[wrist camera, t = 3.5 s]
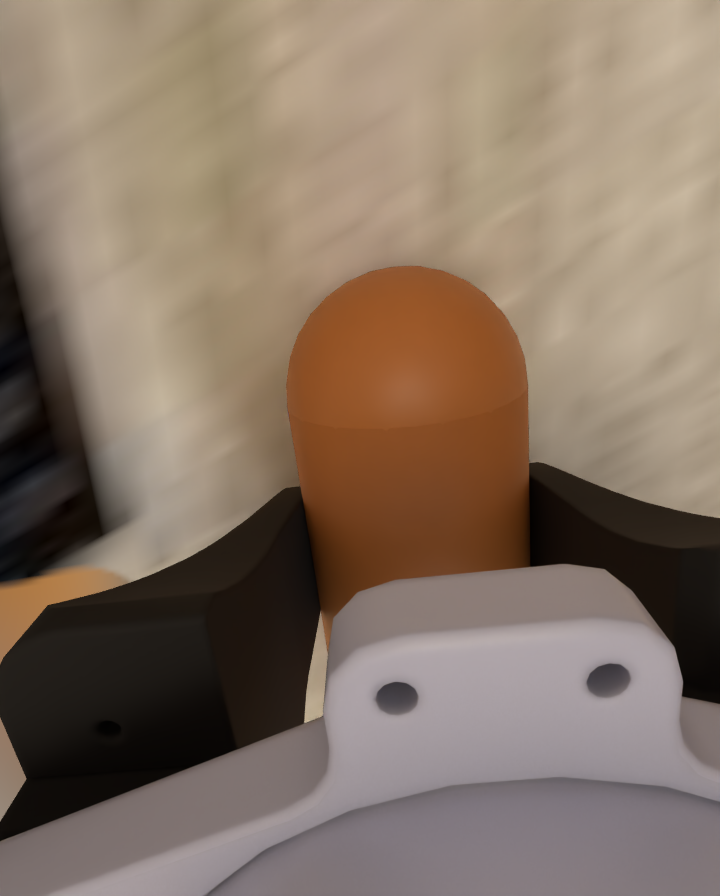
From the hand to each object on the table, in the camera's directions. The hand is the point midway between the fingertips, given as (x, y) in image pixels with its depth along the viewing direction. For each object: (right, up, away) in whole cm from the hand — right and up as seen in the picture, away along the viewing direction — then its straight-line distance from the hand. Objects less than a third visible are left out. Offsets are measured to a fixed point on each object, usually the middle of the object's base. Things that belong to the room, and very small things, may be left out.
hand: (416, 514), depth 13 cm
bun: (0, 0, +1) cm, 1 cm away
